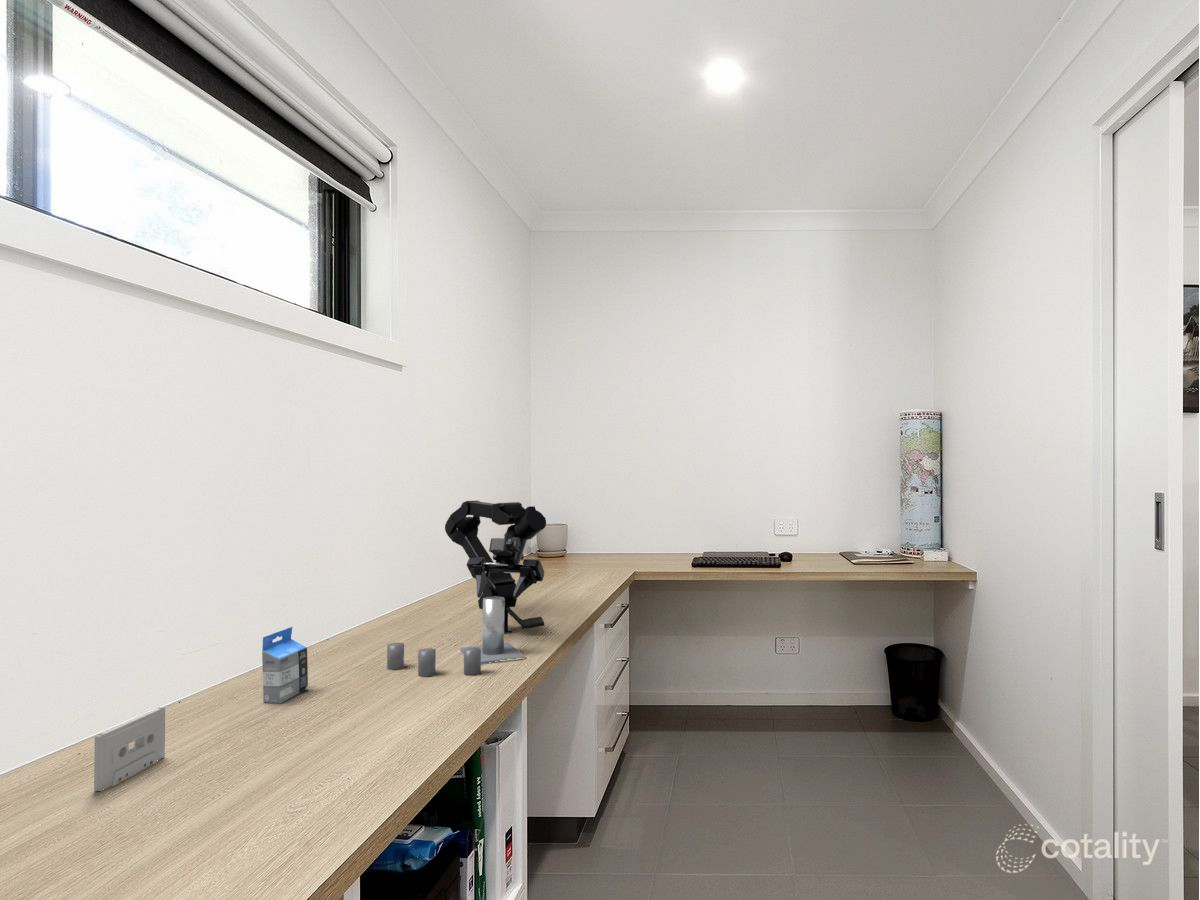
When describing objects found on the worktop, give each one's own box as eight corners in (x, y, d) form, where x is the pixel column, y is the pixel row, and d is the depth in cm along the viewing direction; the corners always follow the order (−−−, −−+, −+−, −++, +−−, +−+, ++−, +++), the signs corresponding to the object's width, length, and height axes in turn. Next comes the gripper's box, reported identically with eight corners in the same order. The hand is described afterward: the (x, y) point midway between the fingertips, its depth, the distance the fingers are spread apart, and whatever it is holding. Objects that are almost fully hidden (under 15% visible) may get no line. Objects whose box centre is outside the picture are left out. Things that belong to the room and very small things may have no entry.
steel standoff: (480, 650, 170) (480, 597, 170) (500, 648, 172) (501, 595, 172) (485, 655, 165) (485, 600, 166) (506, 653, 167) (507, 599, 168)
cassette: (157, 757, 110) (157, 706, 110) (168, 757, 110) (168, 707, 110) (90, 792, 98) (90, 735, 98) (102, 793, 98) (103, 736, 98)
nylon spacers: (392, 664, 160) (392, 642, 160) (483, 671, 155) (483, 647, 155) (376, 673, 153) (376, 649, 154) (470, 680, 148) (470, 655, 148)
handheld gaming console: (541, 635, 186) (545, 622, 187) (502, 623, 185) (507, 609, 185) (538, 629, 197) (542, 616, 197) (501, 617, 196) (506, 604, 196)
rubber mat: (460, 649, 173) (460, 647, 173) (508, 644, 177) (508, 642, 177) (473, 664, 160) (473, 662, 160) (525, 659, 164) (525, 656, 164)
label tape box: (280, 704, 134) (280, 637, 134) (261, 703, 135) (261, 636, 135) (308, 689, 142) (309, 627, 143) (290, 688, 143) (290, 626, 143)
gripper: (469, 524, 180) (449, 575, 169) (540, 526, 175) (524, 578, 165) (482, 552, 188) (464, 603, 177) (550, 554, 183) (536, 606, 172)
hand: (496, 597), depth 172 cm, fingers open, 9 cm apart
